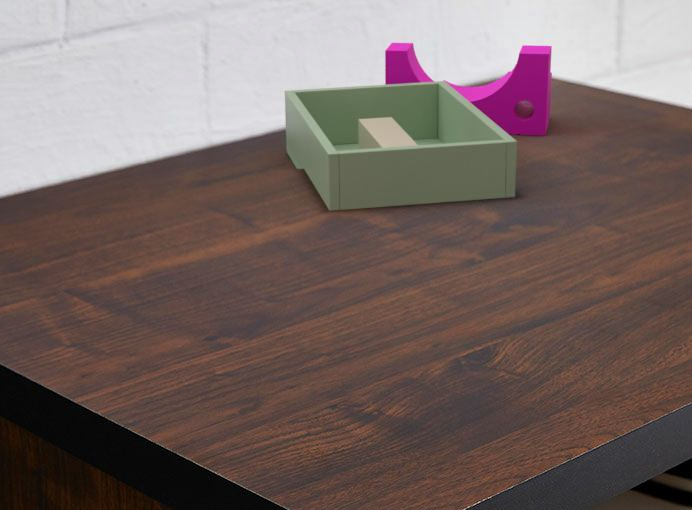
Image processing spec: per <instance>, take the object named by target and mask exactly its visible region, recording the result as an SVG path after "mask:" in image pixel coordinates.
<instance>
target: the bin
mask: <svg viewBox="0 0 692 510" xmlns="http://www.w3.org/2000/svg"><path fill="white" fill-rule="evenodd" d="M445 81H446V80H445ZM445 81H443V80H439V81H434V82H421V83H404V84H388V85H385V84H375V85H374V84H373V85H357V86H340V87H324V88H323V87H322V88H307V89H294V90H291V89H290V90H285V91H284V111H285V112H284V113H285V115H284V116H285V117H284V118H285V141H286V154H287V155H288V157H289V158H290V160H291V162H292V164H293V165H294V168H295V169H296V170H304V171H305V173H306V174H307V176H308V178H309V180H310V181H311V183H312V184H313V186H314V188H315V189H316V192H317V193H318V194H319V196H320V197H321V199H322V202H323V203H324V204H325V206H326V207H327V209H328V210H329V212H330V211H345V210H357V209H358V210H359V209H372V208H385V207H386V208H387V207H398V206H411V205H425V204H438V203H450V202H451V203H452V202H466V201H479V200H490V199H491V200H492V199H505V198H515V197H516V184H517V183H516V181H517V179H516V178H517V158H518V157H517V156H518V152H517V151H518V141H517V140H516V138H514V137H513V136H511V134H508V133H506V132H505V131H504V130H503V129H502V128H500V127H499V126H498V125H497V124H496V123H494V122H493V121H492V120H491V119H490V118H488V117H487V116H486V115H485V114H484V113H482V112H481V111H480V110H479V109H478V108H476V107H475V106H474V105H473V104H472V103H470V102H469V101H468V100H467V99H466V98H464V97H463V96H462V95H461V94H460V93H458V92H457V91H456V90H455V89H454V88H452V87H451V86H450V85H449V84H447V83H446V82H445ZM385 117H392V118H393V119H394V120H395V121H396V122H397V123H398V125H399V126H400V127H401V128H402V129H403V130H404V131H405V132H406V133H407V134H408V135H409V136H410V137H411V138H412V139H413V140H414V142H415V143H416V144H417V145H416V146H401V147H387V148H372V149H359V134H358V120H359V119H369V118H385Z"/></svg>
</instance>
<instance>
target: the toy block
mask: <svg viewBox="0 0 692 510" xmlns="http://www.w3.org/2000/svg"><path fill="white" fill-rule="evenodd" d="M552 49H553V48H552V45H530V44H529V45H525V44H523V45H522V46H521V48H520V49H519V50H520V51H519V53H518V59H517V60H516V61H517V62H516V64H515V65H514V67H513V68H512V70H510V71H508V72H507V73H505V74H504V75H503V76H501V77H500V78H498V79H497V80H495V81H492V82H490V83H489V84H484V85H480V86H462V85H457V84H454V83H452V82H449V81H446V79H443V80H442V81H445V82H446V83H447V84H449V85H450V86H451V87H452V88H454V89H455V90H456V91H457V92H458V93H460V94H461V95H462V96H463V97H464V98H466V99H467V100H468V101H469V102H470V103H472V104H473V105H474V106H475V107H476V108H478V109H479V110H480V111H481V112H482V113H484V114H485V115H486V116H487V117H488V118H490V119H491V120H492V121H493V122H494V123H496V124H497V125H498V126H499V127H500V128H502V129H503V130H504V131H505V132H506V133H508V134H509V135H512V136H513V135H516V136H518V135H517V134H520V135H519V136H543V137H544V136H545V137H546V134H547V130H548V128H549V124H550V120H549V119H551V98H552V78H553V72H551V71H552V70H551V68H552ZM384 52H385V53H384V54H385V55H384V57H385V58H384V62H385V63H384V64H385V66H384V67H385V68H384V69H385V71H384V73H385V75H384V76H385V77H384V79H385V82H384V85H388V84H404V83H421V82H435V80H433V79H432V78H431V77H430V75H428V74H427V73H426V71H425V70H424V69H423V67H422V65H421V64H420V62H419V60H418V58H417V55H416V51H415V46H414V43H413V42H391V43H390V45H388V46H387V48H386V49H385V51H384ZM524 102H528V103H530V104H526V103H524Z"/></svg>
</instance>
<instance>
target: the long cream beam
mask: <svg viewBox="0 0 692 510" xmlns="http://www.w3.org/2000/svg"><path fill="white" fill-rule="evenodd" d="M358 134H359V149H372V148H387V147H401V146H416V145H417V144H416V143H415V142H414V140H413V139H412V138H411V137H410V136H409V135H408V134H407V133H406V132H405V131H404V130H403V129H402V128H401V127H400V126H399V125H398V123H397V122H396V121H395V120H394V119H393V118H392V117H385V118H369V119H359V120H358Z"/></svg>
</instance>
